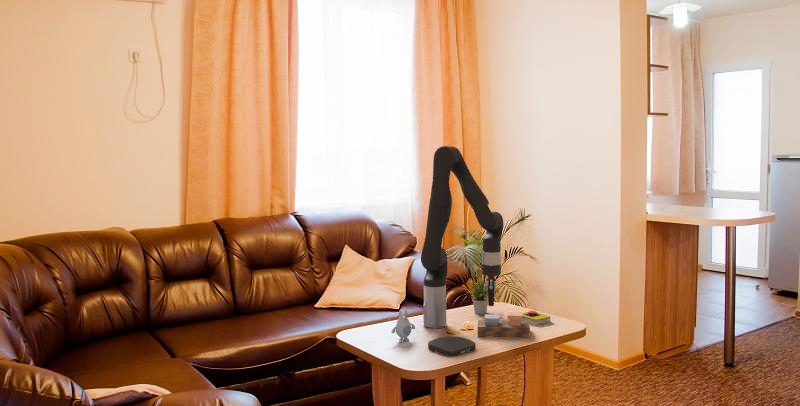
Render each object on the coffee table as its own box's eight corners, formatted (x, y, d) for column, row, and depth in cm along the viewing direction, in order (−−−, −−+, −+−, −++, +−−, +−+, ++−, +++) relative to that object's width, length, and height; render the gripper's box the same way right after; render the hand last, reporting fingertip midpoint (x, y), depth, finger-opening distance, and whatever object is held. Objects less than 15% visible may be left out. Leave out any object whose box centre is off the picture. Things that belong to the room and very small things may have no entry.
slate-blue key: (484, 329, 230) (484, 318, 230) (484, 324, 236) (484, 314, 235) (499, 329, 229) (499, 318, 229) (499, 325, 235) (498, 314, 234)
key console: (477, 336, 229) (477, 326, 228) (478, 329, 238) (478, 319, 238) (529, 338, 225) (529, 328, 225) (528, 330, 235) (528, 320, 235)
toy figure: (396, 345, 220) (395, 314, 219) (387, 341, 225) (387, 311, 224) (419, 340, 225) (419, 310, 224) (411, 336, 231) (410, 306, 230)
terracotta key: (507, 326, 229) (507, 315, 228) (507, 322, 234) (507, 311, 234) (522, 326, 228) (522, 315, 227) (521, 322, 233) (521, 312, 233)
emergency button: (529, 307, 256) (555, 314, 244) (529, 316, 257) (555, 324, 244) (513, 310, 251) (539, 318, 239) (513, 320, 252) (539, 328, 239)
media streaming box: (452, 340, 226) (452, 333, 225) (480, 350, 214) (480, 342, 214) (423, 349, 216) (423, 341, 216) (451, 359, 205) (451, 351, 205)
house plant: (500, 317, 255) (500, 280, 254) (469, 318, 255) (468, 281, 253) (494, 309, 269) (494, 274, 268) (464, 309, 269) (464, 274, 268)
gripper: (482, 259, 237) (482, 301, 239) (481, 265, 224) (481, 309, 226) (500, 259, 236) (500, 301, 238) (501, 266, 223) (500, 310, 225)
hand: (491, 305), depth 232 cm, fingers closed
